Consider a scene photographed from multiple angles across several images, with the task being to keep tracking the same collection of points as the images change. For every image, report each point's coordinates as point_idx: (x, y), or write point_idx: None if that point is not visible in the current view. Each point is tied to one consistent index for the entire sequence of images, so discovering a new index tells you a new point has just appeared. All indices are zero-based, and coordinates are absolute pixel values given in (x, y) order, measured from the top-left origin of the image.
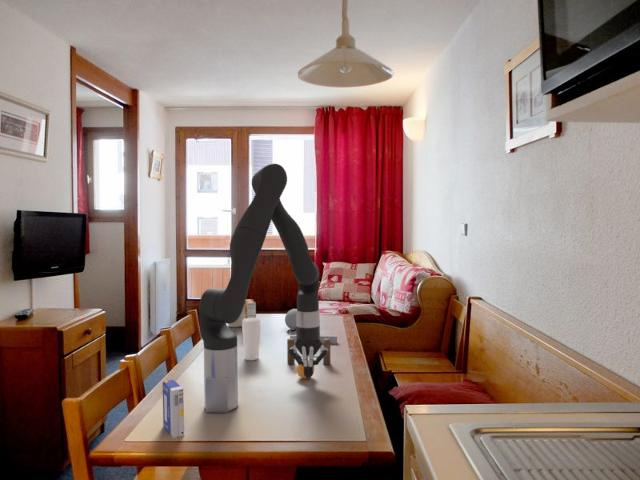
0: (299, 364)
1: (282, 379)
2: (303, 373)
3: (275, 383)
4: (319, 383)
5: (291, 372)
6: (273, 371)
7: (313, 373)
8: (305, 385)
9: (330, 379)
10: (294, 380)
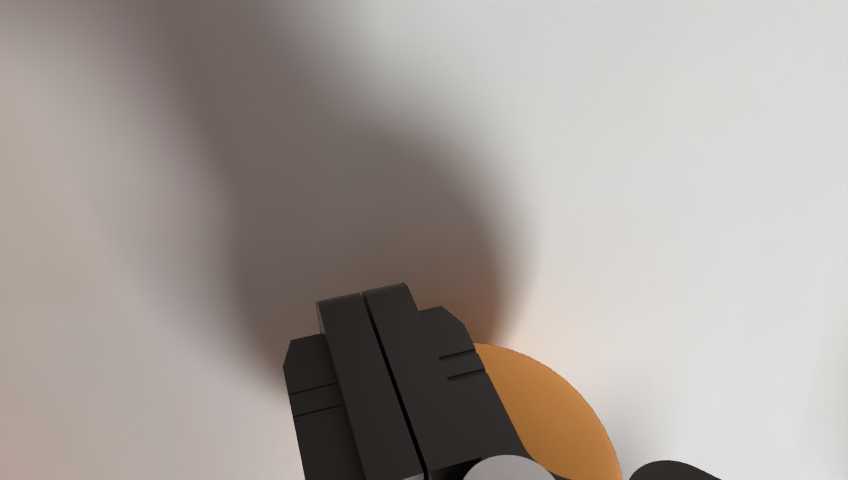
0: (665, 462)
1: (726, 256)
2: None
3: (839, 102)
4: (142, 288)
5: None
6: (794, 409)
7: None
8: (371, 144)
9: (24, 465)
10: (569, 274)
